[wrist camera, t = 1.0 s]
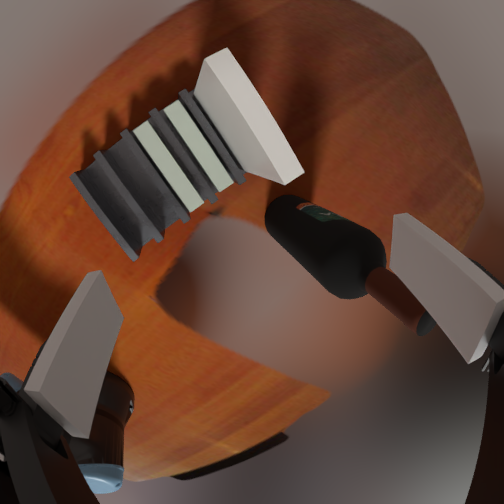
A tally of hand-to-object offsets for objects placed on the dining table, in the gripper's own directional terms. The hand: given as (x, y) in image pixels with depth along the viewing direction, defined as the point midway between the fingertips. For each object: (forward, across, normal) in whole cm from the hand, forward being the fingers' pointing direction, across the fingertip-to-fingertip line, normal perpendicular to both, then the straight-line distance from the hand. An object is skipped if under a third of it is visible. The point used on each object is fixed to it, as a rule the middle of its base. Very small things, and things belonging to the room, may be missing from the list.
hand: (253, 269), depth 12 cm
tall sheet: (+30, 0, -4) cm, 30 cm away
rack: (+30, +8, -1) cm, 31 cm away
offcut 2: (+29, +4, -2) cm, 29 cm away
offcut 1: (+28, +8, -1) cm, 29 cm away
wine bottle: (+31, -7, +11) cm, 34 cm away
